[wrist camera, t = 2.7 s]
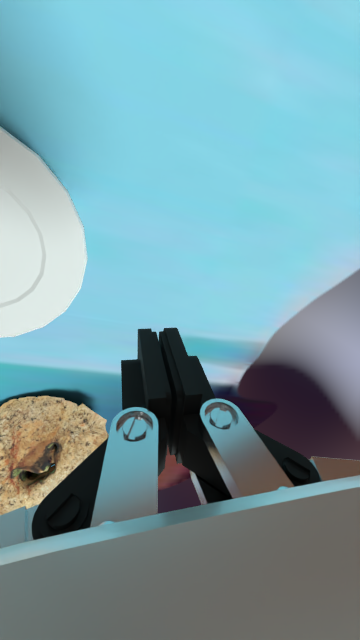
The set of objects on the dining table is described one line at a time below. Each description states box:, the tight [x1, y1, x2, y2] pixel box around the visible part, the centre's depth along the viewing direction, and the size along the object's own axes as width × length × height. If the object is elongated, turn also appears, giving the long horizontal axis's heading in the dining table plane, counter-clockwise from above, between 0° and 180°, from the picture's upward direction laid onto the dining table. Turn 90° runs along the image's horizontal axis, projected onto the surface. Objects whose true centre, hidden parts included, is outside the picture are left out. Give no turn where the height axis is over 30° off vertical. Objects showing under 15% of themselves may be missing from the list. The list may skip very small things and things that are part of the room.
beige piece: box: [0, 396, 109, 515], centre depth 32 cm, size 18×14×8 cm
